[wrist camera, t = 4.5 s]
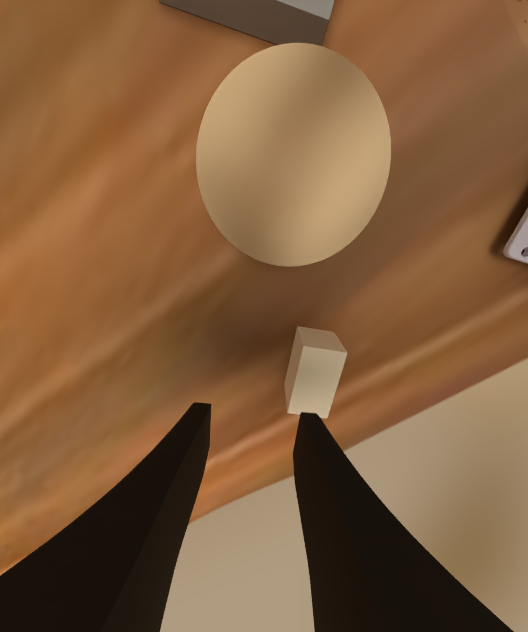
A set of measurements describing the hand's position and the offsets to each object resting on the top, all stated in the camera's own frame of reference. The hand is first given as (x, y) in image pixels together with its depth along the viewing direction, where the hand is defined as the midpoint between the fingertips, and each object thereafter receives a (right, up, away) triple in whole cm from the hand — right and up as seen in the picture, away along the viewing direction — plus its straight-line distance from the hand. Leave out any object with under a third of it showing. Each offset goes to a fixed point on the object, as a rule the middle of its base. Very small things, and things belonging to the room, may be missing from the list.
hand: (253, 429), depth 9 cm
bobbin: (+1, +11, +5) cm, 13 cm away
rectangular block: (+4, +1, +9) cm, 10 cm away
